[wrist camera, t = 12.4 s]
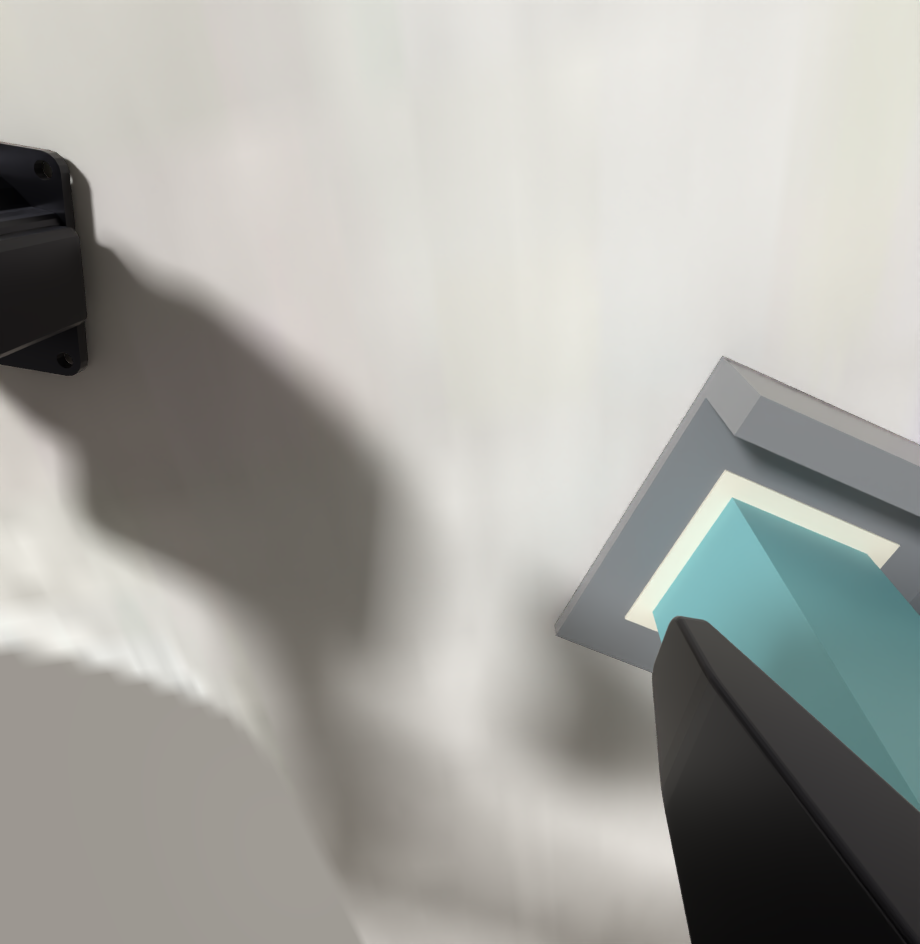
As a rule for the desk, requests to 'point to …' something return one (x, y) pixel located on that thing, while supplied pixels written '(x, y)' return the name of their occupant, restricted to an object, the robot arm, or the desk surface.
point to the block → (813, 630)
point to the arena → (749, 501)
